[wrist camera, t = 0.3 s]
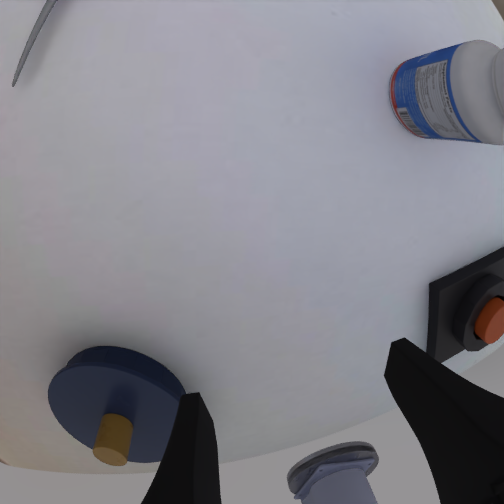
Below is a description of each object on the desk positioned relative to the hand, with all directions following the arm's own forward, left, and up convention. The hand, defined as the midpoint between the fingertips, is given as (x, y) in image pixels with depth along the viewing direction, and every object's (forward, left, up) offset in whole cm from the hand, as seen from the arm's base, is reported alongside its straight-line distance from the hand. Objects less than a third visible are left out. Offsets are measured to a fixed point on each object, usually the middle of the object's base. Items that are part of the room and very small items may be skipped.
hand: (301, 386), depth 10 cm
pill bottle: (+14, -7, -9) cm, 18 cm away
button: (+1, -19, -7) cm, 20 cm away
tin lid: (-12, +8, -7) cm, 16 cm away
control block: (+1, -19, -9) cm, 21 cm away
